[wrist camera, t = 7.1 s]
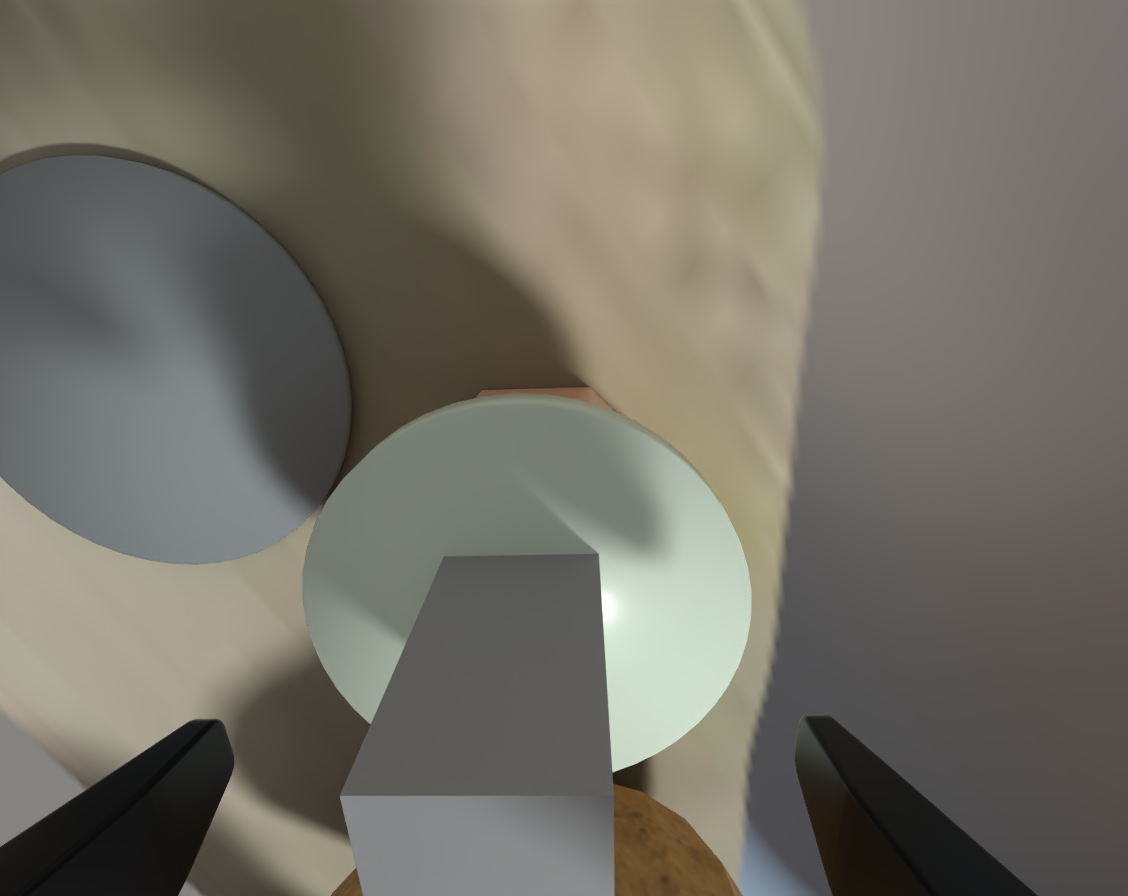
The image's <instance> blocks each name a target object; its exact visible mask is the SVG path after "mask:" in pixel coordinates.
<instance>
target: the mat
mask: <svg viewBox="0 0 1128 896" xmlns="http://www.w3.org/2000/svg"><path fill="white" fill-rule="evenodd" d="M351 426H352V394H351V385H350V376H349V371H348V367H347V363H346V359H345V354H344V350H343V347H342V345H341V342H340V339H339V336H338V334H337V331H336V328H335V326H334V323H333V321H332V319H331V317H330V315H329V313H328V311H327V309H326V307H325V305H324V303H323V301H322V299H321V297H320V295H319V294H318V292H317V291H316V289H315V288H314V286H313V285H312V283H311V282H310V280H309V279H308V277H307V276H306V274H305V273H304V271H303V270H302V269H301V267H300V266H299V265H298V264H297V263H296V261H295V260H294V259H293V258H292V257H291V255H290V254H289V253H288V252H287V251H286V249H285V248H284V247H283V246H282V245H281V244H280V243H279V242H278V241H277V240H276V239H275V238H274V237H273V236H272V235H271V234H270V233H269V232H268V231H267V230H266V229H265V228H263V227H262V226H261V225H260V224H259V223H258V222H257V221H256V220H254V219H253V218H252V217H250V216H249V215H248V214H246V213H245V212H244V211H243V210H241V209H240V208H239V207H237V206H236V205H235V204H233V203H232V202H230V201H229V200H227V199H225V198H224V197H222V196H220V195H219V194H217V193H215V192H214V191H212V190H210V189H209V188H207V187H205V186H203V185H201V184H199V183H197V182H194V181H192V180H190V179H188V178H186V177H183V176H181V175H179V174H177V173H174V172H171V171H168V170H165V169H161V168H158V167H155V166H152V165H148V164H145V163H140V162H134V161H129V160H123V159H117V158H111V157H106V156H91V155H67V156H59V157H51V158H43V159H39V160H36V161H32V162H29V163H26V164H22V165H19V166H16V167H13V168H11V169H10V170H8V171H6V172H4V173H2V174H0V476H1V477H2V478H3V480H4V481H5V482H6V483H7V484H8V485H9V486H11V487H12V488H13V489H14V490H15V491H16V492H17V493H18V494H20V495H21V496H22V497H23V498H24V499H25V500H26V501H27V502H29V503H30V504H31V505H33V506H34V507H35V508H37V509H38V510H39V511H41V512H42V513H44V514H45V515H46V516H48V517H49V518H50V519H52V520H54V521H55V522H57V523H58V524H60V525H62V526H63V527H65V528H67V529H68V530H70V531H72V532H73V533H75V534H77V535H79V536H82V537H84V538H86V539H88V540H90V541H92V542H94V543H96V544H98V545H101V546H104V547H106V548H109V549H112V550H114V551H117V552H120V553H123V554H126V555H130V556H134V557H138V558H142V559H146V560H151V561H158V562H165V563H171V564H207V563H219V562H223V561H228V560H233V559H238V558H242V557H244V556H247V555H250V554H253V553H256V552H259V551H261V550H263V549H265V548H267V547H269V546H271V545H273V544H275V543H277V542H278V541H280V540H282V539H283V538H284V537H286V536H287V535H288V534H290V533H291V532H293V531H294V530H295V529H297V528H298V527H299V526H300V525H301V524H302V523H303V522H304V521H305V520H306V519H307V518H308V517H309V516H310V515H311V514H312V513H313V512H314V511H315V510H316V509H317V508H318V506H319V505H320V504H321V502H322V501H323V500H324V498H325V497H326V496H327V494H328V493H329V491H330V490H331V488H332V486H333V484H334V482H335V480H336V478H337V476H338V474H339V473H340V470H341V467H342V464H343V461H344V458H345V455H346V452H347V449H348V444H349V438H350V432H351Z"/></svg>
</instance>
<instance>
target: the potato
mask: <svg viewBox="0 0 1128 896" xmlns="http://www.w3.org/2000/svg"><path fill="white" fill-rule="evenodd" d="M613 790H614V896H742V894H741V892H740V891H739V889H738V888H737V886H736V884H735V883H734V881H733V880H732V878H731V877H730V875H729V873H728V872H727V870H726V869H725V867H724V865H723V864H722V862H721V861H720V860H719V859H718V858H717V856H716V855H715V854H714V853H713V852H712V850H711V849H710V848H709V847H708V846H707V845H706V843H705V842H704V841H703V840H702V839H701V837H700V836H699V835H698V834H697V833H696V832H695V830H694V829H693V828H692V827H691V826H690V824H689V823H688V822H687V821H686V820H685V819H684V818H682V817H681V816H679V815H678V814H676V813H675V812H673V811H671V810H670V809H668V808H667V807H665V806H664V805H662V804H660V803H659V802H657V801H656V800H654V799H653V798H651V797H649V796H648V795H646V794H645V793H643V792H640V791H637V790H633V789H630V788H627V787H623V786H620V785H616V784H613ZM331 896H363V893H362V889H361V884H360V880H359V876H358V872H357V867H356V869H355V870H354V871H353V872H352V873H351V874H350V875H349V876H348V877H347V878H346V879H345V880H344V881H343V882H342V883H341V885H340V886H339V887H338V888H337V889H336V890H335V891H334V892H333V893H332V895H331Z"/></svg>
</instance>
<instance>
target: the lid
mask: <svg viewBox="0 0 1128 896" xmlns="http://www.w3.org/2000/svg"><path fill="white" fill-rule="evenodd" d="M303 604H304V611H305V617H306V623H307V626H308V630H309V633H310V636H311V639H312V643H313V646H314V648H315V650H316V652H317V655H318V657H319V659H320V661H321V663H322V665H323V667H324V669H325V671H326V672H327V674H328V675H329V677H330V679H331V680H332V682H333V683H334V685H335V686H336V688H337V689H338V691H339V692H340V693H341V694H342V695H343V697H344V698H345V699H346V700H347V701H348V703H349V704H350V705H351V706H352V707H353V708H354V709H355V710H356V711H357V712H358V713H359V714H360V715H361V716H362V717H363V718H364V719H365V720H366V721H367V722H368V723H369V724H370V727H369V729H368V732H367V734H366V736H365V739H364V741H363V743H362V745H361V748H360V750H359V752H358V755H357V757H356V759H355V761H354V764H353V766H352V768H351V771H350V773H349V775H348V778H347V780H346V782H345V784H344V787H343V789H342V791H341V794H340V800H341V804H342V808H343V813H344V817H345V821H346V825H347V829H348V834H349V838H350V842H351V846H352V851H353V855H354V859H355V863H356V867H357V872H358V876H359V880H360V884H361V889H362V893H363V896H614V790H613V774H612V772H615V771H618V770H620V769H623V768H626V767H629V766H631V765H634V764H637V763H639V762H641V761H643V760H645V759H647V758H649V757H651V756H653V755H655V754H657V753H658V752H660V751H662V750H663V749H665V748H666V747H668V746H669V745H671V744H672V743H674V742H675V741H677V740H679V739H680V738H681V737H682V736H683V735H685V734H686V733H687V732H688V731H689V730H691V729H692V728H693V727H694V726H695V725H697V724H698V723H699V722H700V721H701V719H702V718H703V717H704V716H705V715H706V714H707V713H708V712H709V711H710V710H711V709H712V708H713V707H714V705H715V704H716V702H717V701H718V700H719V698H720V697H721V695H722V694H723V693H724V691H725V690H726V688H727V687H728V685H729V683H730V681H731V679H732V677H733V675H734V674H735V672H736V670H737V668H738V666H739V663H740V660H741V657H742V654H743V651H744V648H745V646H746V643H747V638H748V632H749V626H750V621H751V585H750V578H749V571H748V566H747V562H746V559H745V556H744V553H743V549H742V546H741V543H740V540H739V538H738V536H737V534H736V532H735V530H734V528H733V526H732V524H731V522H730V520H729V518H728V516H727V514H726V512H725V510H724V508H723V507H722V505H721V503H720V501H719V499H718V497H717V496H716V495H715V493H714V492H713V490H712V489H711V487H710V486H709V484H708V483H707V481H706V480H705V479H704V477H703V476H702V475H701V473H700V472H699V471H698V470H697V469H696V468H695V467H694V466H693V465H692V464H691V463H690V462H689V460H688V459H687V458H686V457H685V456H684V455H683V454H682V453H680V452H679V451H678V450H677V449H676V448H674V447H673V446H672V445H671V444H669V443H668V442H667V441H666V440H665V439H663V438H662V437H661V436H659V435H658V434H656V433H654V432H653V431H651V430H649V429H648V428H646V427H645V426H643V425H641V424H640V423H638V422H636V421H635V420H632V419H630V418H628V417H626V416H623V415H621V414H619V413H617V412H614V411H612V410H610V409H608V408H605V407H601V406H598V405H594V404H591V403H588V402H584V401H581V400H578V399H572V398H566V397H560V396H554V395H548V394H523V393H512V394H501V395H490V396H482V397H478V398H474V399H469V400H465V401H460V402H456V403H453V404H450V405H447V406H445V407H442V408H439V409H436V410H434V411H431V412H428V413H426V414H424V415H422V416H420V417H418V418H417V419H415V420H413V421H411V422H409V423H407V424H405V425H404V426H402V427H400V428H399V429H397V430H396V431H395V432H393V433H392V434H391V435H389V436H388V437H387V438H385V439H384V440H383V441H381V442H380V443H379V444H377V445H376V446H375V447H374V448H373V449H372V450H371V451H370V452H369V453H368V454H367V455H366V456H365V457H364V458H363V459H362V460H361V461H360V462H359V463H358V464H357V465H356V466H355V467H354V468H353V469H352V470H351V471H350V472H349V473H348V474H347V475H346V476H345V477H344V478H343V480H342V481H341V482H340V484H339V485H338V486H337V488H336V489H335V490H334V492H333V493H332V494H331V496H330V497H329V499H328V500H327V502H326V503H325V505H324V507H323V509H322V511H321V513H320V515H319V517H318V519H317V521H316V523H315V525H314V528H313V531H312V534H311V537H310V540H309V543H308V546H307V550H306V556H305V562H304V568H303Z"/></svg>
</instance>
